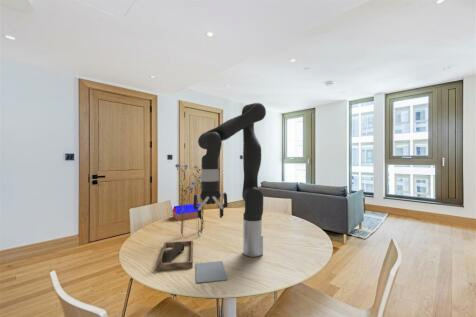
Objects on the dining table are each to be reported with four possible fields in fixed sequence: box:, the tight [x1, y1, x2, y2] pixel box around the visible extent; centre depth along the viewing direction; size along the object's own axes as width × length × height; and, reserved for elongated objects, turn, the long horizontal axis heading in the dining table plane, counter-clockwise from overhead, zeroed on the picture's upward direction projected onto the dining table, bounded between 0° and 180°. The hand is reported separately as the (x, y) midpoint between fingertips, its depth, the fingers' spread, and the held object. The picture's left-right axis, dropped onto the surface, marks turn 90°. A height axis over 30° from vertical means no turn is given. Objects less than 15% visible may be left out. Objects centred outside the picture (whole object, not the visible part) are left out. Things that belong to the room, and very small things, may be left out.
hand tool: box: [162, 243, 185, 263], centre depth 106 cm, size 19×4×5 cm, turn 167°
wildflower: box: [174, 163, 206, 238], centre depth 139 cm, size 22×23×45 cm
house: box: [172, 202, 200, 222], centre depth 177 cm, size 12×20×12 cm, turn 121°
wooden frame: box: [156, 240, 194, 272], centre depth 110 cm, size 15×26×2 cm, turn 11°
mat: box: [195, 260, 228, 284], centre depth 95 cm, size 12×16×1 cm
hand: (210, 218), depth 95 cm, fingers open, 8 cm apart
